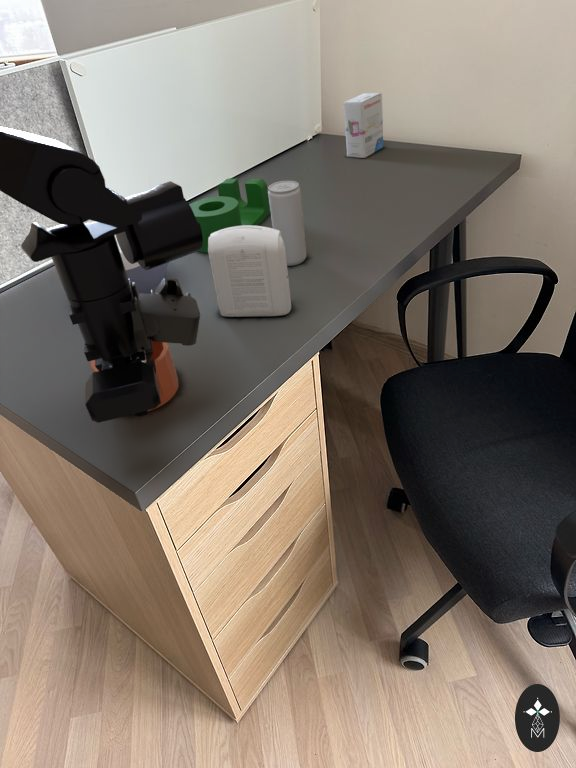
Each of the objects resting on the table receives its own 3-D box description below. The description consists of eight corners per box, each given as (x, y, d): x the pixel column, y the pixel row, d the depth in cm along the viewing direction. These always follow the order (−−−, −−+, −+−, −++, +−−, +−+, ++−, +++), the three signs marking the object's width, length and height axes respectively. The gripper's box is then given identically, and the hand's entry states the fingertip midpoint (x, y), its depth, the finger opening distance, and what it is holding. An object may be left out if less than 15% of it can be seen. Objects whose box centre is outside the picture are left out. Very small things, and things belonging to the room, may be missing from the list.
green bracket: (230, 254, 96) (224, 217, 92) (184, 251, 99) (175, 215, 95) (270, 212, 108) (266, 178, 104) (228, 211, 111) (222, 178, 108)
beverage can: (306, 265, 89) (299, 189, 82) (276, 268, 90) (266, 193, 82) (306, 252, 93) (299, 178, 86) (277, 254, 93) (268, 181, 86)
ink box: (365, 145, 136) (364, 91, 128) (384, 147, 133) (383, 92, 126) (345, 156, 131) (343, 100, 123) (364, 158, 128) (362, 101, 121)
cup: (106, 422, 64) (90, 384, 61) (105, 378, 71) (90, 342, 67) (183, 402, 65) (171, 364, 62) (174, 361, 72) (164, 324, 69)
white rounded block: (294, 301, 81) (284, 218, 73) (290, 317, 77) (279, 231, 70) (224, 304, 82) (207, 222, 75) (217, 320, 79) (199, 236, 72)
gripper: (197, 314, 46) (230, 451, 56) (173, 232, 61) (203, 351, 70) (58, 346, 45) (116, 481, 54) (68, 254, 59) (112, 373, 69)
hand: (142, 414), depth 62 cm, fingers closed
